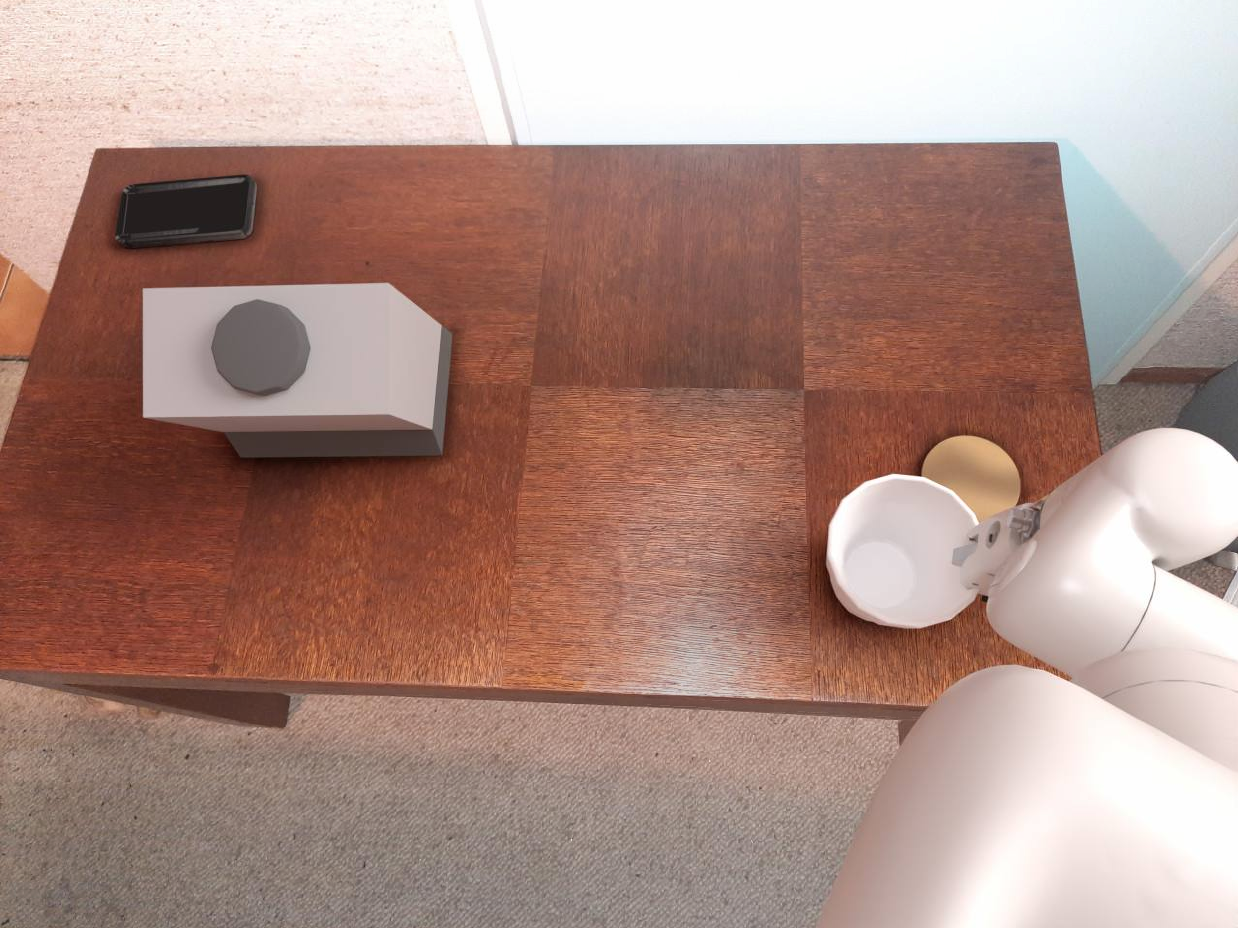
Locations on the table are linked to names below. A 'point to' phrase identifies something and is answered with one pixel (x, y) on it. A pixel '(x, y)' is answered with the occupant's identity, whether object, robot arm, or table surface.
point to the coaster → (974, 474)
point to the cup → (900, 552)
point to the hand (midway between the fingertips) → (993, 586)
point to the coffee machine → (298, 368)
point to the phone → (186, 211)
